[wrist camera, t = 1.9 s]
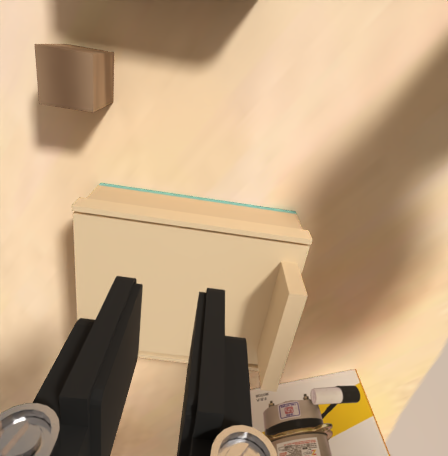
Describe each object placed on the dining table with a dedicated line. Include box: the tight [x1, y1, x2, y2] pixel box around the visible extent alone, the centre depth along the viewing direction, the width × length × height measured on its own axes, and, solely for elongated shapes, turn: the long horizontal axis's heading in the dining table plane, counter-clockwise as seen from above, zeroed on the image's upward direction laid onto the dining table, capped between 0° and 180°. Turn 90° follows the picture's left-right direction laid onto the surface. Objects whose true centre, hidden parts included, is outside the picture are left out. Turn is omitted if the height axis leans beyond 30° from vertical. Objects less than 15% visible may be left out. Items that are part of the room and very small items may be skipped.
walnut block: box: [35, 44, 114, 112], centre depth 32 cm, size 4×4×6 cm
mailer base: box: [87, 183, 302, 229], centre depth 41 cm, size 22×16×7 cm
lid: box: [72, 197, 313, 392], centre depth 35 cm, size 22×18×7 cm
